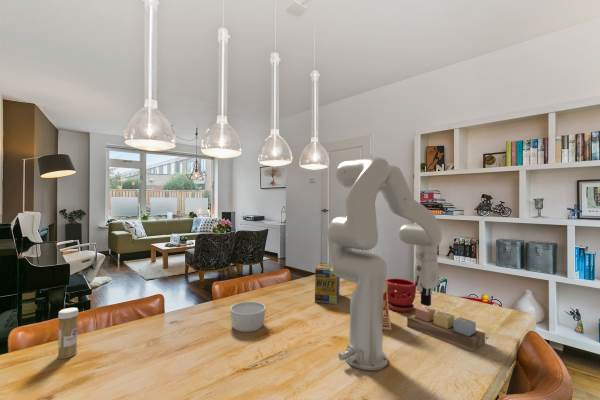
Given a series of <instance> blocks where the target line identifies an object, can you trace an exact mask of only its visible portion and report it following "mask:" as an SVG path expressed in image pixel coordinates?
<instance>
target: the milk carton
mask: <svg viewBox="0 0 600 400" xmlns="http://www.w3.org/2000/svg"><path fill="white" fill-rule="evenodd" d="M386 280H387V279H386ZM386 280H385V285H384V291H383V330H389V331H392V329H393V328H392V324H391V318H390V317H391V316H390V311H389V309H390V308H389V307H388V295H387V281H386Z"/></svg>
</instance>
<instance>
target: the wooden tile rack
mask: <svg viewBox="0 0 600 400" xmlns="http://www.w3.org/2000/svg"><path fill="white" fill-rule="evenodd" d="M406 320H407V321H406V327H407V328H409V329H413V330H415V331H417V332H420V333H423V334H425V335H427V336H431V337H433V338H434V339H435V338H436V339H438V340H441V341H443V342H445V343H448V344H451V345H453V346H456V347H458V348H461V349H463V350H466V351H468V352H471V353H473V352H474V351H475V350H477V349H478V348H480V347H481V346H483V345H484V344H485V342H486V339H485V338H486V333H485V332H483V331H480V330H477V329H476V333H474V334H472V335H471V336H466V335H463V334H461V333H458V332H455V331H453V326H452V327H450V328H448V329H447V328H444V327H441V326H438V325H435V324H433V320H431V321H429V322H427V321H424V320H421V319H419V318H416V313H415V314H412V315H410V316H408V317H407V318H406Z"/></svg>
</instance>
